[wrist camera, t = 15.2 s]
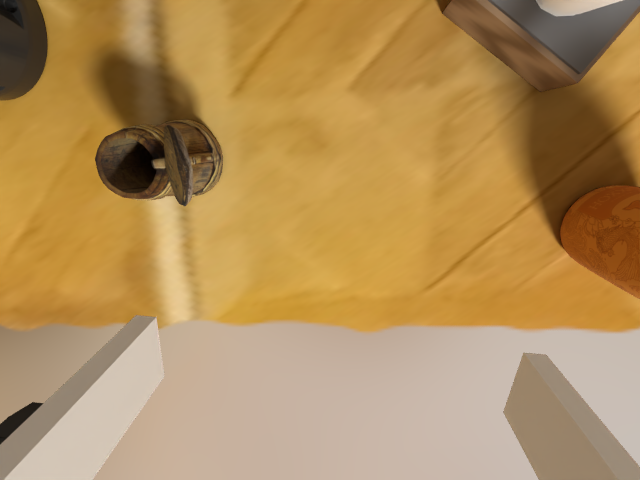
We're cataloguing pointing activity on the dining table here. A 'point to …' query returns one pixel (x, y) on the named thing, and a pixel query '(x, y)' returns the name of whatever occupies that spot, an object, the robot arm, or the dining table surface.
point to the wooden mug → (160, 161)
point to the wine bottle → (606, 235)
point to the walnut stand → (542, 36)
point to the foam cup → (572, 6)
